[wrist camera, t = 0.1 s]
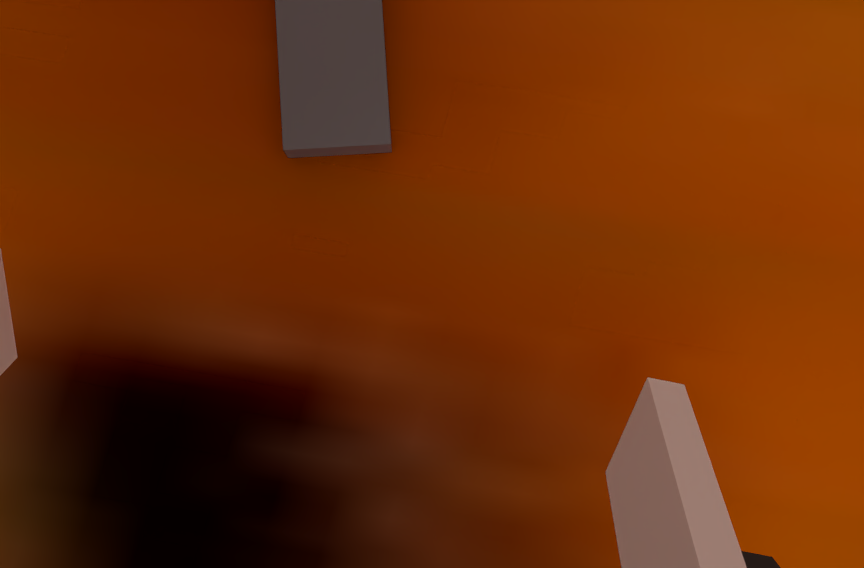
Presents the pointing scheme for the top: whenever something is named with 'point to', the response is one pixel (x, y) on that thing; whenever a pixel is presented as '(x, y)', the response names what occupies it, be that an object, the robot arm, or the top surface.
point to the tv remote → (332, 77)
